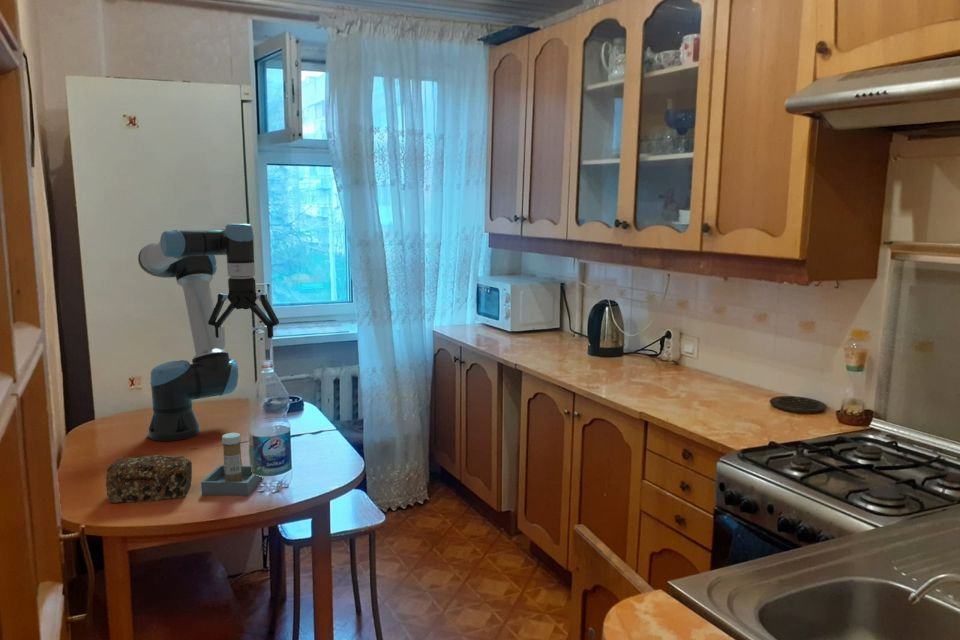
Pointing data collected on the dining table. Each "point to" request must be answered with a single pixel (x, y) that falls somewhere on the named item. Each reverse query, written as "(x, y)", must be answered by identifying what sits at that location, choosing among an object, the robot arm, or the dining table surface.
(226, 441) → the sprinkles bottle
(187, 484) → the bread
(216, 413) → the dining table surface
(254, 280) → the robot arm
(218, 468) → the tray
